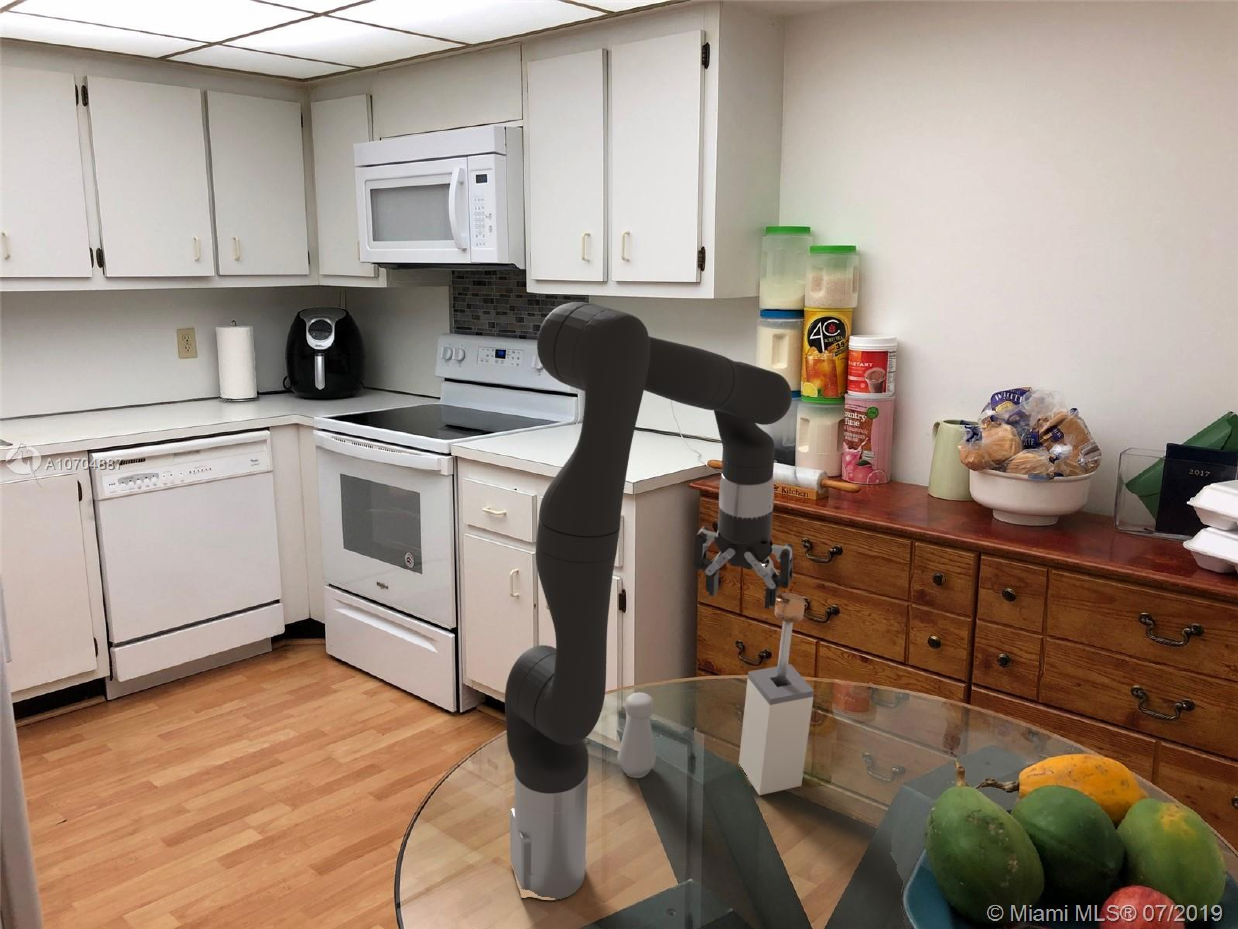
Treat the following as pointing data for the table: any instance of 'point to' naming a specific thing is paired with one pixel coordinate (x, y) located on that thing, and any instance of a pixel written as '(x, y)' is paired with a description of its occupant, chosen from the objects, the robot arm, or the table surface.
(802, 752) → the press canister
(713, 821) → the table surface
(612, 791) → the table surface
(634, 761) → the salt shaker
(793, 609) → the plunger
